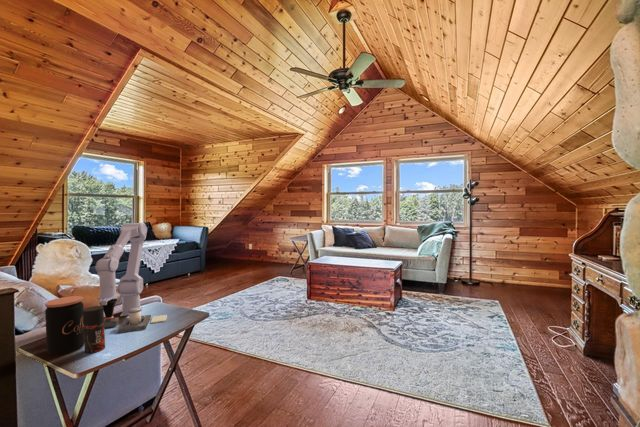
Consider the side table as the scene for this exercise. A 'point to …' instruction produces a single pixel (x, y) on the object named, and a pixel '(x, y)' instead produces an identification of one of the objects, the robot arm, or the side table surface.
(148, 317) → the housing
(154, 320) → the tray
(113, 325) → the console
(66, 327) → the coffee jar
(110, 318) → the plunger
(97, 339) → the deodorant
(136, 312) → the cartridge
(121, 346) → the side table surface
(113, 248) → the robot arm
